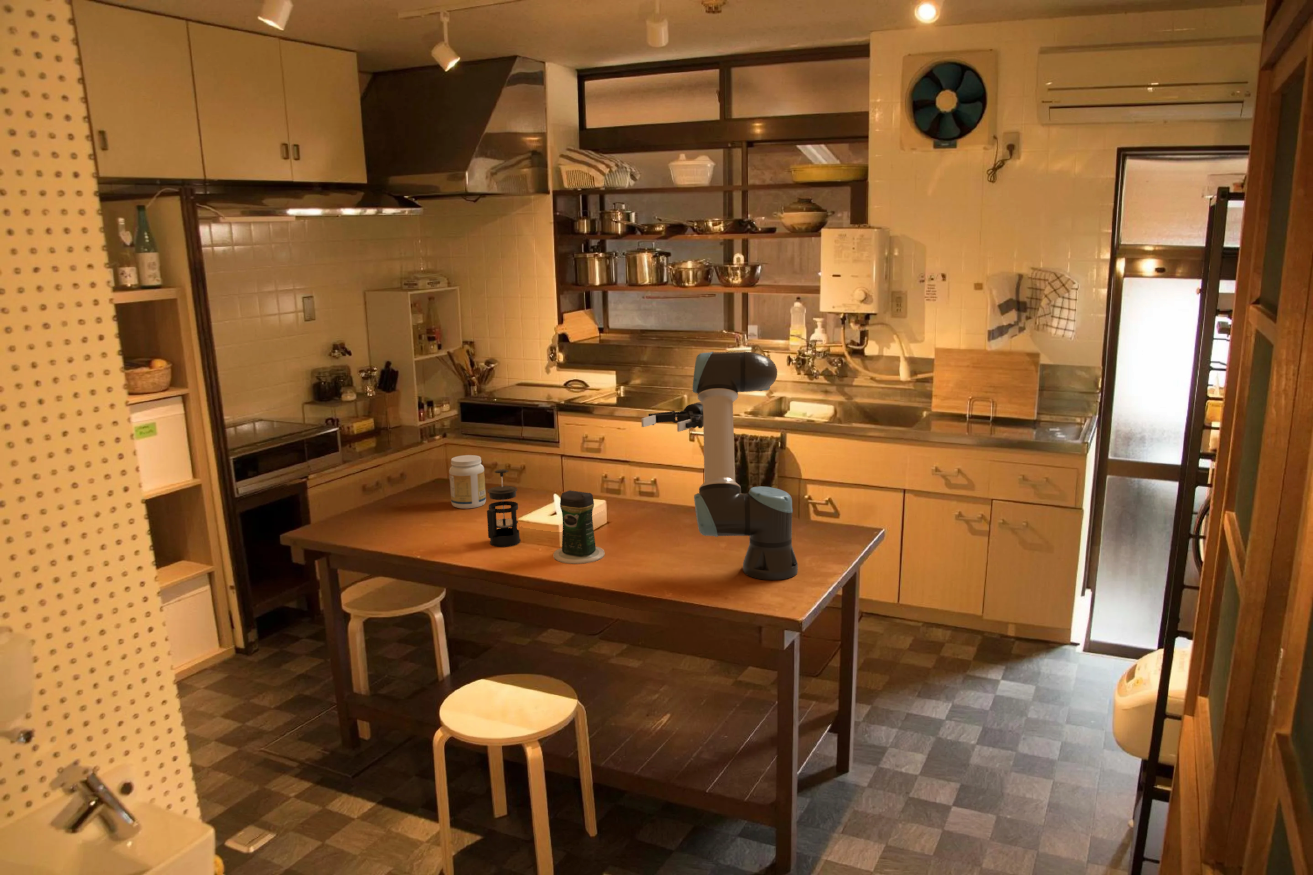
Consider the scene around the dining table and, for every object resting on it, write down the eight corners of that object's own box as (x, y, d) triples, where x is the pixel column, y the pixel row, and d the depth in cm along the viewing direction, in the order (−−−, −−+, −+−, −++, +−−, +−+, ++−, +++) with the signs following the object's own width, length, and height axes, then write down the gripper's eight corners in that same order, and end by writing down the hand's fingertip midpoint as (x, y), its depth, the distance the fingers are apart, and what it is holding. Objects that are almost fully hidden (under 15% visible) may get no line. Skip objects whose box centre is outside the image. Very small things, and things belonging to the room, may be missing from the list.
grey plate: (610, 560, 276) (610, 557, 276) (559, 566, 272) (559, 563, 271) (597, 545, 290) (597, 542, 290) (548, 550, 286) (548, 547, 285)
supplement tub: (475, 498, 346) (473, 452, 342) (492, 504, 336) (490, 458, 333) (445, 504, 338) (442, 458, 335) (461, 511, 329) (458, 463, 325)
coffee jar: (600, 551, 282) (598, 490, 278) (585, 559, 275) (583, 496, 271) (572, 546, 286) (570, 486, 283) (557, 554, 280) (555, 493, 276)
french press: (505, 535, 301) (502, 464, 297) (528, 540, 296) (524, 468, 291) (479, 545, 292) (475, 472, 287) (502, 550, 287) (498, 476, 282)
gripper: (731, 429, 303) (693, 441, 286) (667, 421, 317) (628, 432, 301) (731, 406, 301) (693, 416, 285) (667, 399, 316) (627, 409, 299)
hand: (660, 424), depth 293 cm, fingers open, 13 cm apart
